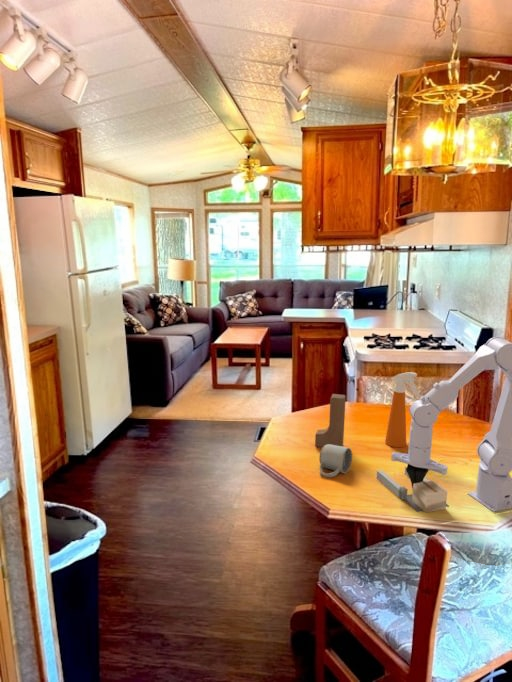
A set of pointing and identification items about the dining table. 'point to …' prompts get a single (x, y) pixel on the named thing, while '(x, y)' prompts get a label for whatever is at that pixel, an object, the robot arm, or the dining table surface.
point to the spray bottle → (399, 410)
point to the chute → (394, 484)
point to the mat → (412, 504)
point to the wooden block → (333, 423)
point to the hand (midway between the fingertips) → (416, 491)
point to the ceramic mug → (335, 459)
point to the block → (429, 496)
